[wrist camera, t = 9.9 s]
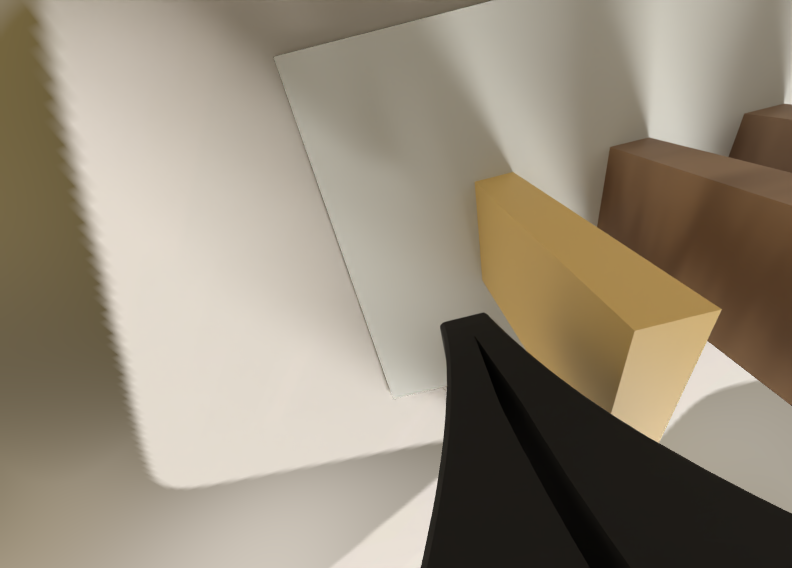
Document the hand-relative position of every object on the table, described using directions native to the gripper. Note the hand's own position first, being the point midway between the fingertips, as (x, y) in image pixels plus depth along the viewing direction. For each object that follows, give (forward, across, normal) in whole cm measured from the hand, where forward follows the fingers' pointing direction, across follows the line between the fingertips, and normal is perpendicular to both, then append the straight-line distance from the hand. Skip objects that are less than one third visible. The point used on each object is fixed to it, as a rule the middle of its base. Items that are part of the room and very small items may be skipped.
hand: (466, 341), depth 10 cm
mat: (+6, -13, +1) cm, 14 cm away
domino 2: (+6, -9, 0) cm, 11 cm away
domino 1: (+6, -3, 0) cm, 7 cm away
